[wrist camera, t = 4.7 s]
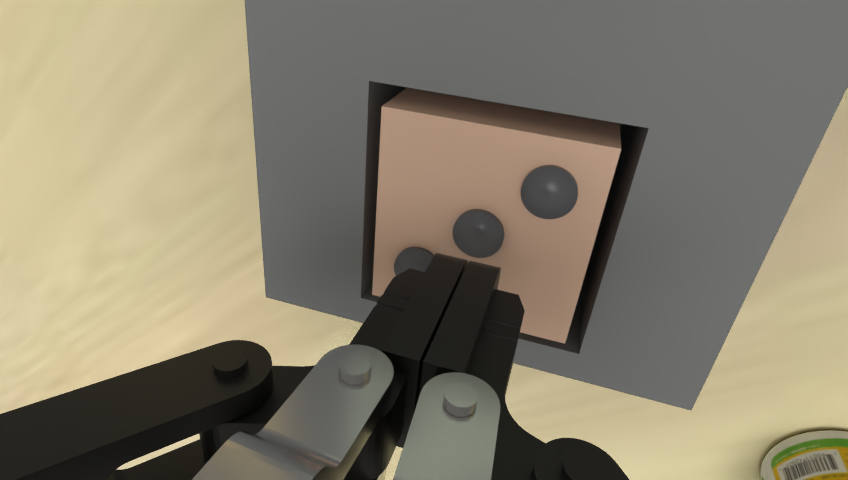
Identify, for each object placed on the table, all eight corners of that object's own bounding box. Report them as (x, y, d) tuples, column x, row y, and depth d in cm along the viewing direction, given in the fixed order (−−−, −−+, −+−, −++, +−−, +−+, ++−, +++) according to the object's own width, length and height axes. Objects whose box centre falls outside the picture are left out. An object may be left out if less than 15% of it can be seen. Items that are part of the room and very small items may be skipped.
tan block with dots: (618, 110, 16) (621, 151, 13) (571, 280, 19) (564, 348, 16) (420, 77, 17) (379, 108, 14) (406, 242, 20) (369, 298, 17)
